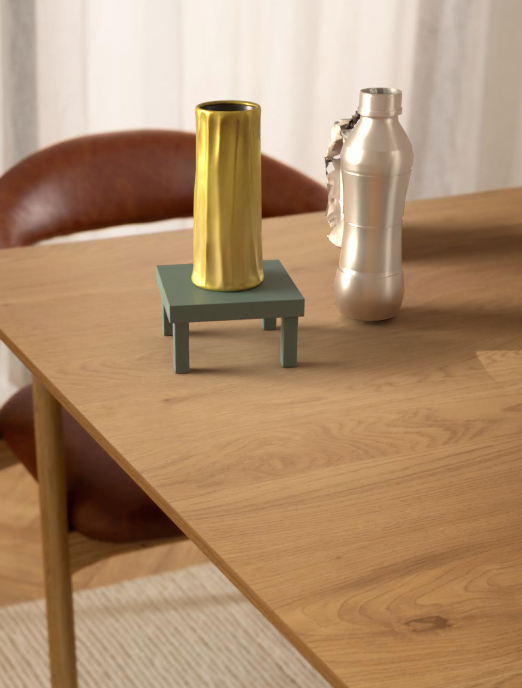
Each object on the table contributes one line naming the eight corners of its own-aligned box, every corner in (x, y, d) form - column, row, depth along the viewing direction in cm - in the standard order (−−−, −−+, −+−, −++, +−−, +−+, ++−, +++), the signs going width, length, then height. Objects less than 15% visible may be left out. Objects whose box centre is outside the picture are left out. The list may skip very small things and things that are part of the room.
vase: (240, 266, 103) (242, 96, 97) (277, 285, 98) (281, 108, 92) (178, 277, 101) (175, 103, 94) (213, 297, 96) (212, 115, 89)
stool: (277, 323, 108) (279, 259, 105) (302, 368, 98) (305, 298, 95) (157, 329, 107) (155, 265, 104) (170, 375, 97) (169, 305, 94)
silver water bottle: (337, 330, 106) (348, 98, 97) (327, 305, 112) (337, 85, 103) (408, 328, 106) (427, 97, 97) (395, 304, 112) (411, 84, 103)
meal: (380, 264, 123) (389, 136, 117) (339, 265, 123) (346, 137, 117) (357, 226, 136) (364, 108, 130) (320, 226, 136) (325, 109, 130)
